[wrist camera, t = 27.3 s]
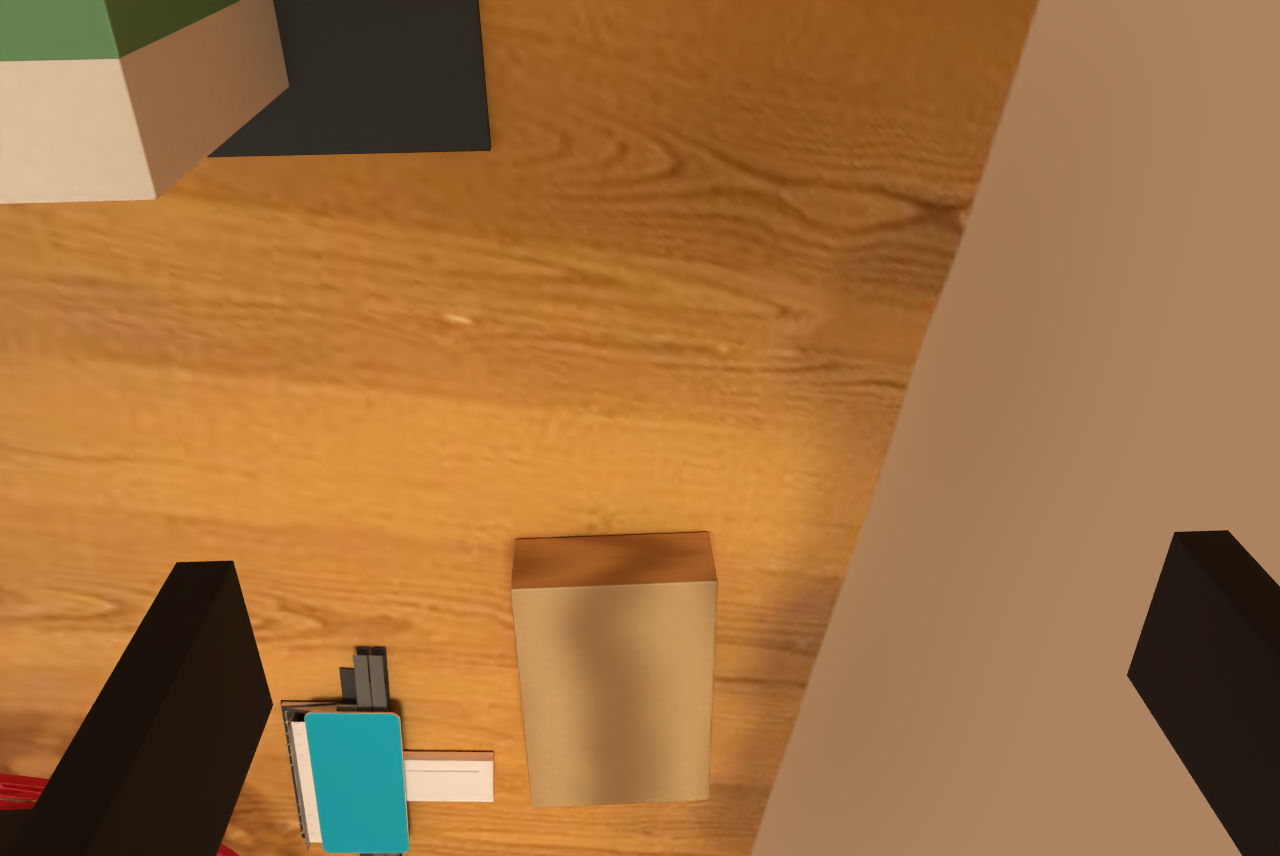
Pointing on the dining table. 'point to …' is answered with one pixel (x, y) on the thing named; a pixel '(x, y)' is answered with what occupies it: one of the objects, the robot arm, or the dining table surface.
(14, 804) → the bowl
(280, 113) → the mat
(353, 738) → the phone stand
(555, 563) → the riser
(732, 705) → the dining table surface
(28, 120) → the packet
